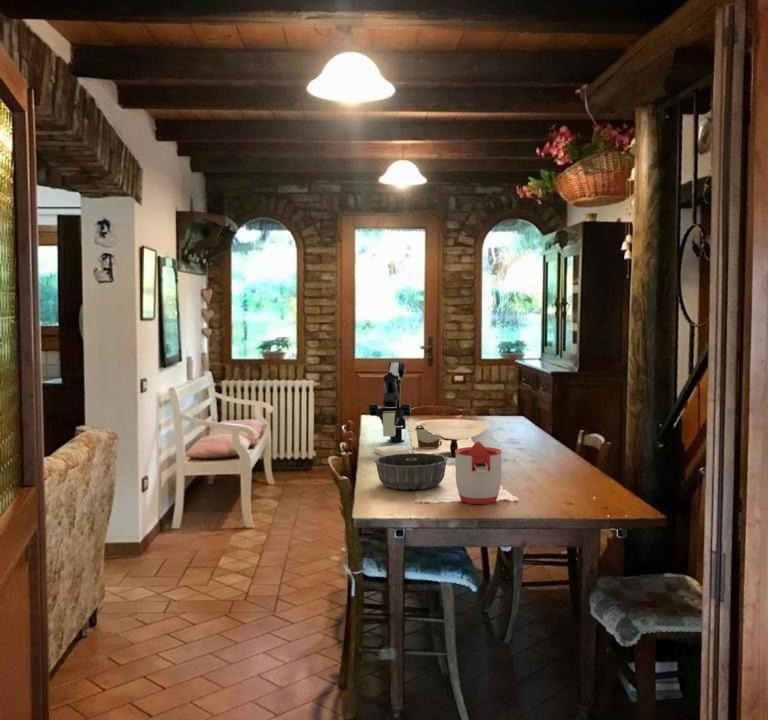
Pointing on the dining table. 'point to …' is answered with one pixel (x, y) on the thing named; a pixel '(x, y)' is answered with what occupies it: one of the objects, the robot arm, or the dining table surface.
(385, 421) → the sage block
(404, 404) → the robot arm
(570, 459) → the dining table surface
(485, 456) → the citrus juicer
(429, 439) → the food container
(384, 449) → the plate
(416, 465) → the bundt pan
